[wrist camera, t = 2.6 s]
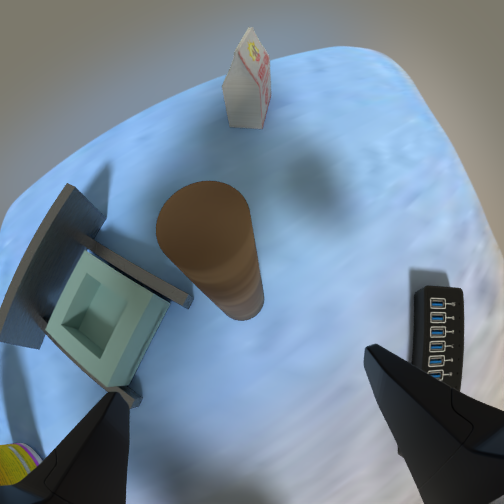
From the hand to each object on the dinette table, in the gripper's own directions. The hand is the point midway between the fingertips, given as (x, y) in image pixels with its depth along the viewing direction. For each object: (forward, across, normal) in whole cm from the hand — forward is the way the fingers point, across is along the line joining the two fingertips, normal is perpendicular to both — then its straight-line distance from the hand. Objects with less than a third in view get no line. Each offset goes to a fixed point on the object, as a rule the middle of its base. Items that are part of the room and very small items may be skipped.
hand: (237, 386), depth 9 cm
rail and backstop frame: (+13, +13, +4) cm, 19 cm away
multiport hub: (+6, -14, +12) cm, 19 cm away
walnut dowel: (+13, 0, +4) cm, 13 cm away
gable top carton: (+28, -5, -10) cm, 30 cm away
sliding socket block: (+12, +12, +4) cm, 17 cm away
